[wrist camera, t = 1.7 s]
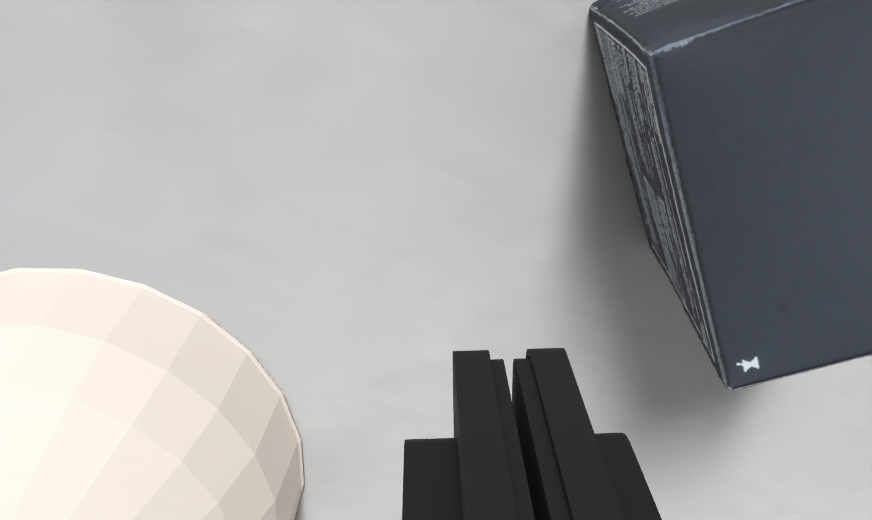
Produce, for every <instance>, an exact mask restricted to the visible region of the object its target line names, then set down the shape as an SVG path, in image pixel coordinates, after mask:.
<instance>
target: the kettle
mask: <svg viewBox="0 0 872 520" xmlns="http://www.w3.org/2000/svg"><path fill="white" fill-rule="evenodd" d="M303 486H304V477H303V462H302V448H301V439H300V436H299V434H298V431H297V429H296V426H295V424H294V421H293V419H292V416H291V414H290V411H289V409H288V406H287V404H286V401H285V399H284V396H283V394H282V393H281V391H280V390H279V389H278V387H277V386H276V385H275V383H274V382H273V381H272V379H271V378H270V377H269V376H268V374H267V373H266V372H265V370H264V369H263V368H262V366H261V365H260V364H259V362H258V361H257V360H256V359H255V357H254V356H253V355H252V353H251V352H250V351H249V350H248V349H247V348H246V347H244V346H243V345H242V344H241V343H239V342H238V341H237V340H236V339H234V338H233V337H232V336H231V335H229V334H228V333H227V332H226V331H224V330H223V329H222V328H221V327H219V326H218V325H217V324H216V323H214V322H213V321H212V320H211V319H209V318H208V317H207V316H206V315H204V314H203V313H202V312H200V311H198V310H196V309H194V308H192V307H189V306H187V305H185V304H183V303H181V302H179V301H177V300H175V299H173V298H171V297H169V296H167V295H165V294H163V293H161V292H159V291H157V290H155V289H153V288H151V287H149V286H147V285H144V284H140V283H136V282H132V281H128V280H124V279H120V278H116V277H112V276H108V275H103V274H99V273H95V272H91V271H87V270H83V269H46V268H16V269H11V270H7V271H3V272H0V520H294V519H295V515H296V511H297V508H298V504H299V501H300V497H301V493H302V490H303Z"/></svg>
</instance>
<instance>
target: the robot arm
mask: <svg viewBox="0 0 872 520" xmlns="http://www.w3.org/2000/svg"><path fill="white" fill-rule="evenodd" d="M453 409H454V438H441V439H409V440H405V444H404V475H403V509H402V520H662V519H661V517H660V514H659V512H658V509H657V507H656V504H655V502H654V500H653V497H652V495H651V492H650V490H649V488H648V485H647V483H646V480H645V478H644V475H643V473H642V471H641V468H640V466H639V463H638V461H637V458H636V456H635V454H634V451H633V449H632V446H631V444H630V442H629V440H628V438H627V436H626V435H625V434H623V433H601V434H594V431H593V428H592V425H591V422H590V420H589V417H588V414H587V411H586V408H585V405H584V402H583V400H582V397H581V394H580V391H579V388H578V385H577V382H576V379H575V377H574V374H573V371H572V368H571V365H570V362H569V359H568V357H567V354H566V351H565V349H564V348H545V349H527V352H526V359H514V361H513V383H512V401H511V396H510V391H509V386H508V380H507V375H506V370H505V365H504V361H503V359H496V360H490V354H489V351H488V350H479V351H453Z"/></svg>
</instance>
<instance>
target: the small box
mask: <svg viewBox="0 0 872 520" xmlns="http://www.w3.org/2000/svg"><path fill="white" fill-rule="evenodd" d="M589 12H590V16H591V19H592V22H593V27H594V31H595V36H596V40H597V45H598V48H599V52H600V55H601V60H602V63H603V68H604V71H605V75H606V79H607V83H608V88H609V91H610V98H611V100H612V103H613V108H614V111H615V114H616V120H617V122H618V126H619V130H620V134H621V138H622V143H623V146H624V150H625V154H626V162H627V165H628V168H629V170H630V176H631V178H632V181H633V186H634V189H635V196H636V198H637V201H638V205H639V209H640V212H641V215H642V219H643V223H644V226H645V230H646V233H647V237H648V241H649V247H650V249H651V250H652V252H653V253H654V255H655V256H656V258H657V260H658V262H659V264H660V265H661V267H662V268H663V270H664V272H665V273H666V275H667V277H668V278H669V281H670V283H671V284H672V286H673V287H674V290H675V291H676V293H677V295H678V297H679V299H680V300H681V302H682V304H683V307H684V310H685V312H686V314H687V315H688V317H689V319H690V321H691V323H692V325H693V327H694V328H695V331H696V332H697V334H698V337H699V339H700V340H701V342H702V344H703V346H704V349H705V350H706V351H707V353H708V356H709V358H710V360H711V362H712V364H713V365H714V367H715V369H716V371H717V373H718V375H719V377H720V379H721V380H722V382H723V384H724V386H725V387H726V388H727V389H729V390H731V391H734V390H738V389H742V388H746V387H750V386H753V385H757V384H761V383H764V382H767V381H772V380H776V379H779V378H783V377H787V376H791V375H796V374H800V373H804V372H807V371H810V370H815V369H819V368H823V367H827V366H830V365H834V364H838V363H843V362H847V361H850V360H853V359H858V358H862V357H865V356H871V355H872V0H598V1H596V2H594V3H593V4H592V5H591V7H590V8H589Z"/></svg>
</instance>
